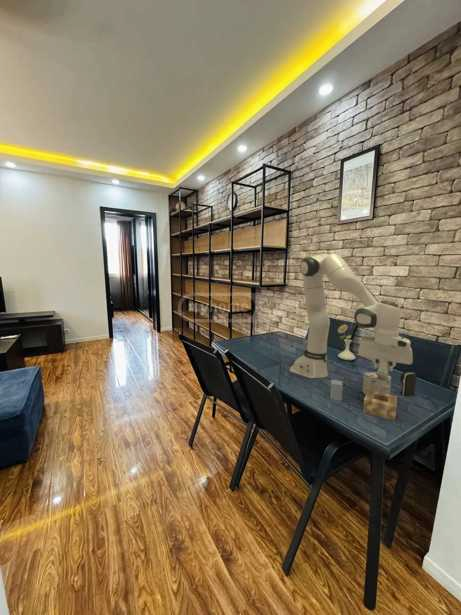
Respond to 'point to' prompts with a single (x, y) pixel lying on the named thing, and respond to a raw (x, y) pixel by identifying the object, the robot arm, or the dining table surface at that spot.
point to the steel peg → (383, 369)
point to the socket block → (380, 404)
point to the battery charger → (408, 383)
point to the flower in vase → (346, 353)
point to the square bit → (336, 390)
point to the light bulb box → (375, 383)
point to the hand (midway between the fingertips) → (383, 369)
